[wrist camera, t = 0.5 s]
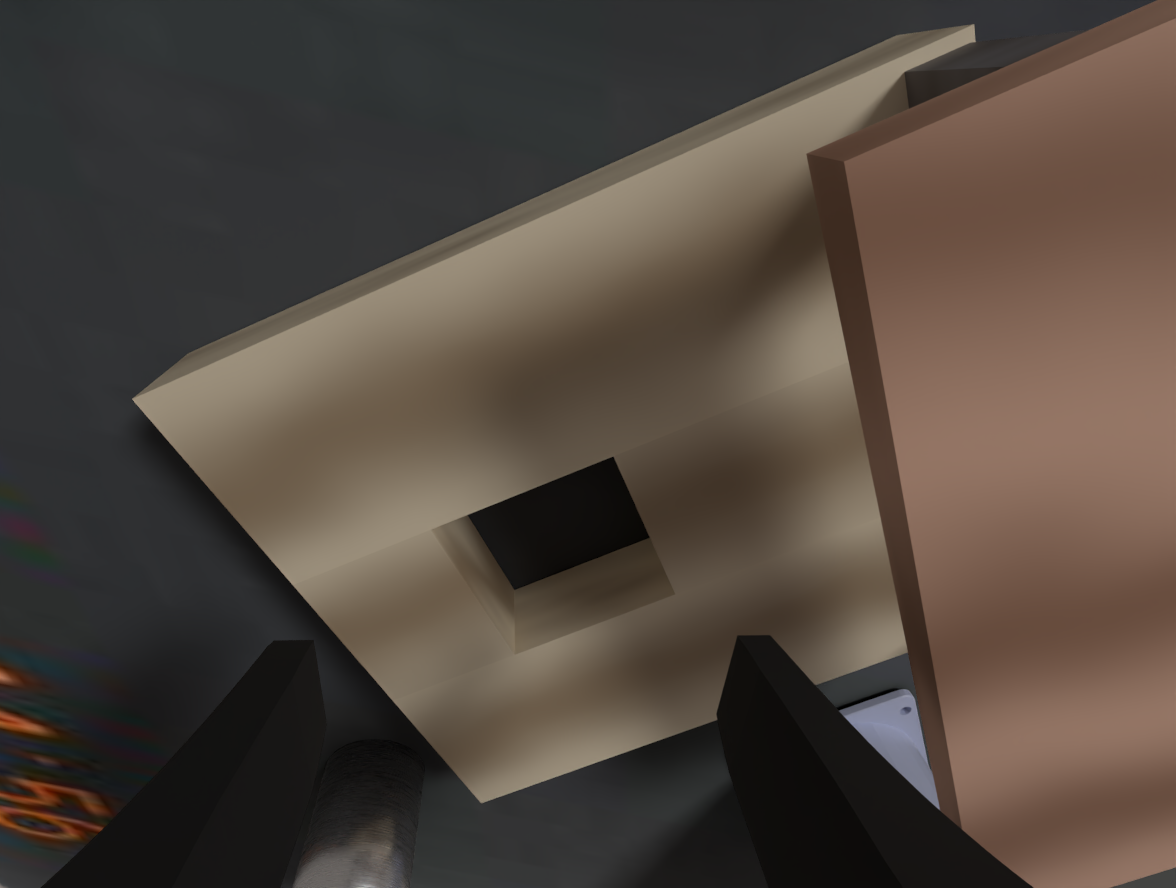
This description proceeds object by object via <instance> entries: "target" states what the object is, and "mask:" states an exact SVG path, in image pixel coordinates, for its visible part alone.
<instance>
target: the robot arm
mask: <svg viewBox="0 0 1176 888" xmlns="http://www.w3.org/2000/svg"><path fill="white" fill-rule="evenodd" d="M716 715H717V720H718V725H719V729H720V734H721V739H722V744H723V748H724V752H725V757H726V761H727V765H728V769H729V773H730V776H731V779H732V782H733V786H734V789H735V791H736V794H737V797H738V800H739V803H740V806H741V809H742V812H743V815H744V818H745V821H746V824H747V827H748V829H749V832H750V835H751V838H752V841H753V844H754V847H755V849H756V852H757V855H758V858H759V861H760V864H761V867H762V870H763V872H764V875H765V878H766V881H767V884H768V887H769V888H1034V887H1032V886H1031V885H1030V884H1028V883H1027V882H1026V881H1024V880H1023V879H1022V878H1021V877H1019V876H1018V875H1017V874H1015V873H1014V872H1013V871H1012V870H1010V869H1009V868H1008V867H1007V866H1005V865H1004V864H1003V863H1002V862H1000V861H999V860H998V859H997V858H995V857H994V856H993V855H992V854H990V853H989V852H988V851H987V850H986V849H984V848H983V847H982V846H981V845H980V844H979V843H977V842H976V841H975V840H974V839H973V838H971V837H970V836H969V835H968V834H967V833H966V832H964V831H963V830H962V829H961V828H960V827H959V826H957V825H956V824H955V823H954V822H953V821H952V820H950V819H949V818H948V817H947V816H946V815H945V814H943V813H942V812H941V811H940V807H939V802H938V797H937V792H936V787H935V783H934V778H933V773H932V771H931V770H930V768H929V766H928V761H927V756H926V751H925V746H924V742H923V737H922V732H921V727H920V722H919V718H918V713H917V708H916V703H915V699H914V697H913V696H912V694H911V693H910V691H908V690H906V689H900V690H896V691H893V692H890V693H887V694H885V695H882V696H879V697H876V698H873V699H870V700H867V701H864V702H862V703H859V704H856V705H853V706H850V707H847V708H844V709H842V710H839V711H838V709H837V708H836V707H835V706H834V705H833V704H832V703H831V702H830V701H829V700H828V699H827V698H826V696H825V695H824V694H823V693H822V692H821V691H820V690H819V689H818V688H817V687H816V685H815V684H814V683H813V682H812V681H811V680H810V679H809V678H808V677H807V675H806V674H805V673H804V672H803V671H802V670H801V669H800V668H799V667H798V665H797V664H796V663H795V662H794V661H793V660H792V659H791V658H790V657H789V655H788V654H787V653H786V652H785V651H784V650H783V649H782V648H781V647H780V645H779V644H778V643H777V642H776V641H775V640H774V639H773V638H772V637H771V636H770V635H737V639H736V642H735V646H734V650H733V654H732V657H731V661H730V665H729V668H728V672H727V676H726V680H725V683H724V687H723V691H722V694H721V698H720V702H719V706H718V709H717V713H716ZM326 726H327V723H326V717H325V710H324V704H323V697H322V691H321V684H320V678H319V671H318V665H317V659H316V652H315V646H314V640H288V641H273V642H272V643H271V644H270V645H269V646H268V647H267V648H266V649H265V650H264V652H263V653H262V654H261V655H260V656H259V658H258V659H257V660H256V661H255V663H254V664H253V665H252V666H251V667H250V669H249V670H248V671H247V672H246V674H245V675H244V676H243V677H242V678H241V680H240V681H239V682H238V683H237V684H236V686H235V687H234V688H233V689H232V690H231V691H230V693H229V694H228V695H227V696H226V697H225V699H224V700H223V701H222V702H221V703H220V704H219V706H218V707H217V708H216V709H215V710H214V711H213V713H212V714H211V715H210V716H209V717H208V718H207V719H206V720H205V722H204V723H203V724H202V725H201V726H200V727H199V728H198V729H197V731H196V732H195V733H194V734H193V735H192V736H191V737H190V738H189V739H188V741H187V742H186V743H185V744H184V745H183V746H182V747H181V748H180V749H179V751H178V752H177V753H176V754H175V755H174V756H173V757H172V758H171V759H170V761H169V762H168V763H167V764H166V765H165V766H164V767H163V768H162V769H161V770H160V771H159V772H158V773H157V774H156V775H155V776H154V777H153V778H152V780H151V781H150V782H149V783H148V784H147V785H146V786H145V787H144V788H143V789H142V790H141V791H140V792H139V793H138V794H137V795H136V796H135V797H134V798H133V799H132V800H131V801H130V802H129V803H128V804H127V805H126V806H125V807H124V808H123V809H122V810H121V811H120V812H119V813H118V814H117V816H116V817H115V818H114V819H113V820H112V821H111V822H110V823H109V824H108V825H107V826H106V827H105V828H104V829H103V830H101V831H100V832H99V833H98V834H97V835H96V836H95V837H94V838H93V839H92V840H91V841H90V842H89V843H88V844H87V845H86V846H85V847H84V848H83V849H82V850H81V851H80V852H79V853H78V854H77V855H76V856H74V857H73V858H72V859H71V860H70V861H69V862H68V863H67V864H66V865H65V866H64V867H63V868H62V869H61V870H59V871H58V872H57V873H56V874H55V875H54V876H53V877H52V878H51V879H50V880H49V881H47V882H46V883H45V884H44V885H43V886H42V887H41V888H280V887H281V884H282V881H283V878H284V875H285V872H286V869H287V866H288V863H289V860H290V857H291V854H292V851H293V848H294V845H295V842H296V839H297V836H298V833H299V830H300V827H301V824H302V821H303V818H304V815H305V812H306V809H307V806H308V803H309V800H310V797H311V793H312V790H313V786H314V782H315V777H316V773H317V769H318V764H319V760H320V755H321V750H322V745H323V741H324V736H325V731H326Z"/></svg>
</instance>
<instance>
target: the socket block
mask: <svg viewBox="0 0 1176 888" xmlns="http://www.w3.org/2000/svg"><path fill="white" fill-rule="evenodd" d="M132 400H133V401H134V402H135V403H136V404H137V406H138V407H139V408H140V409H141V410H142V411H143V412H144V414H145V415H146V416H147V417H148V418H149V419H150V421H151V422H152V423H153V424H154V425H155V426H156V427H157V429H158V430H159V431H160V432H161V433H162V434H163V436H164V437H165V438H166V439H167V440H168V441H169V443H170V444H171V445H172V446H173V447H174V448H175V449H176V451H177V452H178V453H179V454H180V455H181V456H182V458H183V459H184V460H185V461H186V462H187V463H188V464H189V466H190V467H191V468H192V469H193V470H194V471H195V473H196V474H197V475H198V476H199V477H200V478H201V480H202V481H203V482H204V483H205V484H206V485H207V486H208V488H209V489H210V490H211V491H212V492H213V493H214V495H215V496H216V497H217V498H218V499H219V500H220V502H221V503H222V504H223V505H224V506H225V507H226V508H227V510H228V511H229V512H230V513H231V514H232V515H233V517H234V518H235V519H236V520H237V521H238V522H239V523H240V525H241V526H242V527H243V528H244V529H245V530H246V532H247V533H248V534H249V535H250V536H251V537H252V539H253V540H254V541H255V542H256V543H257V544H258V545H259V547H260V548H261V549H262V550H263V551H264V552H265V554H266V555H267V556H268V557H269V558H270V559H271V560H272V562H273V563H274V564H275V565H276V566H277V567H278V569H279V570H280V571H281V572H282V573H283V574H284V576H285V577H286V578H287V579H288V580H289V581H290V582H291V584H292V585H293V586H294V587H295V588H296V589H297V591H298V592H299V593H300V594H301V595H302V596H303V598H304V599H305V600H306V601H307V602H308V603H309V604H310V606H311V607H312V608H313V609H314V610H315V611H316V613H317V614H318V615H319V616H320V617H321V618H322V619H323V621H324V622H325V623H326V624H327V625H328V626H329V628H330V629H331V630H332V631H333V632H334V633H335V635H336V636H337V637H338V638H339V639H340V640H341V641H342V643H343V644H344V645H345V646H346V647H347V648H348V650H349V651H350V652H351V653H352V654H353V655H354V656H355V658H356V659H357V660H358V661H359V662H360V663H361V665H362V666H363V667H364V668H365V669H366V670H367V672H368V673H369V674H370V675H371V676H372V677H373V678H374V680H375V681H376V682H377V683H378V684H379V685H380V687H381V688H382V689H383V690H384V691H385V692H386V694H387V695H388V696H389V697H390V698H391V699H392V700H393V702H394V703H395V704H396V705H397V706H398V707H399V709H400V710H401V711H402V712H403V713H404V714H405V715H406V717H407V718H408V719H409V720H410V721H411V722H412V724H413V725H414V726H415V727H416V728H417V729H418V731H419V732H420V733H421V734H422V735H423V736H424V737H425V739H426V740H427V741H428V742H429V743H430V744H431V746H432V747H433V748H434V749H435V750H436V751H437V752H438V754H439V755H440V756H441V757H442V758H443V759H444V761H445V762H446V763H447V764H448V765H449V766H450V768H451V769H452V770H453V771H454V772H455V773H456V774H457V776H458V777H459V778H460V779H461V780H462V781H463V783H464V784H465V785H466V786H467V787H468V788H469V790H470V791H471V792H472V793H473V794H474V795H475V796H476V798H477V799H478V800H479V801H480V802H481V803H483V802H486V801H489V800H492V799H495V798H498V797H500V796H503V795H506V794H509V793H512V792H514V791H517V790H520V789H523V788H526V787H529V786H531V785H534V784H537V783H540V782H543V781H546V780H548V779H551V778H554V777H557V776H560V775H563V774H565V773H568V772H571V771H574V770H577V769H580V768H582V767H585V766H588V765H591V764H594V763H596V762H599V761H602V760H605V759H608V758H611V757H613V756H616V755H619V754H622V753H625V752H628V751H630V750H633V749H636V748H639V747H642V746H645V745H647V744H650V743H653V742H656V741H659V740H662V739H664V738H667V737H670V736H673V735H676V734H678V733H681V732H684V731H687V730H690V729H693V728H695V727H698V726H701V725H704V724H707V723H710V722H712V721H715V720H717V715H716V713H717V709H718V706H719V702H720V698H721V694H722V691H723V687H724V683H725V680H726V676H727V672H728V668H729V665H730V661H731V657H732V654H733V650H734V646H735V642H736V639H737V635H770V636H771V637H772V638H773V639H774V640H775V641H776V642H777V643H778V644H779V645H780V647H781V648H782V649H783V650H784V651H785V652H786V653H787V654H788V655H789V657H790V658H791V659H792V660H793V661H794V662H795V663H796V664H797V665H798V667H799V668H800V669H801V670H802V671H803V672H804V673H805V674H806V675H807V677H808V678H809V679H810V680H811V681H812V682H813V683H814V684H815V685H817V684H820V683H823V682H826V681H828V680H831V679H834V678H837V677H840V676H843V675H845V674H848V673H851V672H854V671H857V670H859V669H862V668H865V667H868V666H871V665H874V664H876V663H879V662H882V661H885V660H888V659H891V658H893V657H896V656H899V655H902V654H905V653H908V655H909V660H910V665H911V670H912V675H913V680H914V685H915V689H916V694H917V699H918V704H919V709H920V714H921V719H922V724H923V729H924V734H925V738H926V743H927V748H928V753H929V758H930V763H931V768H932V773H933V778H934V783H935V787H936V792H937V797H938V802H939V807H940V811H941V812H942V813H943V814H945V815H946V816H947V817H948V818H949V819H950V820H952V821H953V822H954V823H955V824H956V825H957V826H959V827H960V828H961V829H962V830H963V831H964V832H966V833H967V834H968V835H969V836H970V837H971V838H973V839H974V840H975V841H976V842H977V843H979V844H980V845H981V846H982V847H983V848H984V849H986V850H987V851H988V852H989V853H990V854H992V855H993V856H994V857H995V858H997V859H998V860H999V861H1000V862H1002V863H1003V864H1004V865H1005V866H1007V867H1008V868H1009V869H1010V870H1012V871H1013V872H1014V873H1015V874H1017V875H1018V876H1019V877H1021V878H1022V879H1023V880H1024V881H1026V882H1027V883H1028V884H1030V885H1031V886H1032V887H1034V888H1110V887H1113V886H1117V885H1120V884H1123V883H1126V882H1130V881H1133V880H1136V879H1139V878H1143V877H1146V876H1149V875H1152V874H1156V873H1159V872H1162V871H1165V870H1169V869H1172V868H1175V867H1176V0H1157V1H1155V2H1153V3H1150V4H1148V5H1146V6H1143V7H1141V8H1139V9H1137V10H1134V11H1132V12H1130V13H1127V14H1125V15H1123V16H1120V17H1118V18H1116V19H1114V20H1111V21H1109V22H1107V23H1104V24H1102V25H1100V26H1098V27H1095V28H1093V29H1091V30H1084V31H1074V32H1065V33H1055V34H1046V35H1037V36H1027V37H1018V38H1009V39H999V40H990V41H981V42H975V30H974V24H972V25H965V26H959V27H952V28H945V29H938V30H931V31H924V32H917V33H910V34H904V35H897V36H894V37H892V38H890V39H888V40H885V41H883V42H881V43H879V44H876V45H874V46H872V47H870V48H868V49H865V50H863V51H861V52H859V53H856V54H854V55H852V56H850V57H848V58H845V59H843V60H841V61H839V62H836V63H834V64H832V65H830V66H827V67H825V68H823V69H821V70H819V71H816V72H814V73H812V74H810V75H807V76H805V77H803V78H801V79H798V80H796V81H794V82H792V83H790V84H787V85H785V86H783V87H781V88H778V89H776V90H774V91H772V92H770V93H767V94H765V95H763V96H761V97H758V98H756V99H754V100H752V101H749V102H747V103H745V104H743V105H741V106H738V107H736V108H734V109H732V110H729V111H727V112H725V113H723V114H721V115H718V116H716V117H714V118H712V119H709V120H707V121H705V122H703V123H700V124H698V125H696V126H694V127H692V128H689V129H687V130H685V131H683V132H680V133H678V134H676V135H674V136H671V137H669V138H667V139H665V140H663V141H660V142H658V143H656V144H654V145H651V146H649V147H647V148H645V149H643V150H640V151H638V152H636V153H634V154H631V155H629V156H627V157H625V158H622V159H620V160H618V161H616V162H614V163H611V164H609V165H607V166H605V167H602V168H600V169H598V170H596V171H593V172H591V173H589V174H587V175H585V176H582V177H580V178H578V179H576V180H573V181H571V182H569V183H567V184H565V185H562V186H560V187H558V188H556V189H553V190H551V191H549V192H547V193H544V194H542V195H540V196H538V197H536V198H533V199H531V200H529V201H527V202H524V203H522V204H520V205H518V206H516V207H513V208H511V209H509V210H507V211H504V212H502V213H500V214H498V215H495V216H493V217H491V218H489V219H487V220H484V221H482V222H480V223H478V224H475V225H473V226H471V227H469V228H466V229H464V230H462V231H460V232H458V233H455V234H453V235H451V236H449V237H446V238H444V239H442V240H440V241H438V242H435V243H433V244H431V245H429V246H426V247H424V248H422V249H420V250H417V251H415V252H413V253H411V254H409V255H406V256H404V257H402V258H400V259H397V260H395V261H393V262H391V263H388V264H386V265H384V266H382V267H380V268H377V269H375V270H373V271H371V272H368V273H366V274H364V275H362V276H360V277H357V278H355V279H353V280H351V281H348V282H346V283H344V284H342V285H339V286H337V287H335V288H333V289H331V290H328V291H326V292H324V293H322V294H319V295H317V296H315V297H313V298H311V299H308V300H306V301H304V302H302V303H299V304H297V305H295V306H293V307H290V308H288V309H286V310H284V311H282V312H279V313H277V314H275V315H273V316H270V317H268V318H266V319H264V320H261V321H259V322H257V323H255V324H253V325H250V326H248V327H246V328H244V329H241V330H239V331H237V332H235V333H233V334H230V335H228V336H226V337H224V338H221V339H219V340H217V341H215V342H212V343H210V344H208V345H206V346H204V347H201V348H199V349H197V350H195V351H192V352H190V353H188V354H187V355H186V356H185V357H183V358H182V359H181V360H180V361H178V362H177V363H176V364H175V365H173V366H172V367H171V368H170V369H169V370H167V371H166V372H165V373H164V374H162V375H161V376H160V377H159V378H157V379H156V380H155V381H154V382H153V383H151V384H150V385H149V386H148V387H146V388H145V389H144V390H143V391H141V392H140V393H139V394H138V395H136V396H135V397H134V398H133V399H132ZM610 457H614V459H615V461H616V463H617V465H618V468H619V470H620V472H621V474H622V477H623V479H624V481H625V483H626V486H627V488H628V490H629V492H630V494H631V497H632V499H633V501H634V503H635V506H636V508H637V510H638V512H639V514H640V517H641V519H642V521H643V523H644V526H645V528H646V530H647V532H648V535H649V537H650V538H648V539H645V540H643V541H640V542H637V543H635V544H632V545H630V546H627V547H624V548H622V549H619V550H617V551H614V552H612V553H609V554H606V555H604V556H601V557H599V558H596V559H593V560H591V561H588V562H586V563H583V564H580V565H578V566H575V567H573V568H570V569H568V570H565V571H562V572H560V573H557V574H555V575H552V576H549V577H547V578H544V579H542V580H539V581H536V582H534V583H531V584H529V585H526V586H524V587H521V588H518V589H516V590H514V589H513V587H512V585H511V584H510V582H509V581H508V579H507V577H506V576H505V574H504V573H503V571H502V569H501V568H500V566H499V565H498V563H497V561H496V560H495V558H494V557H493V555H492V553H491V552H490V550H489V549H488V547H487V545H486V544H485V542H484V541H483V539H482V537H481V536H480V534H479V533H478V531H477V529H476V528H475V526H474V525H473V523H472V521H471V520H470V518H469V517H468V515H469V514H471V513H474V512H476V511H479V510H481V509H484V508H486V507H489V506H491V505H493V504H496V503H498V502H501V501H503V500H506V499H508V498H511V497H513V496H516V495H518V494H521V493H523V492H526V491H528V490H531V489H533V488H536V487H538V486H541V485H543V484H546V483H548V482H551V481H553V480H556V479H558V478H561V477H563V476H566V475H568V474H571V473H573V472H576V471H578V470H581V469H583V468H586V467H588V466H591V465H593V464H596V463H598V462H601V461H603V460H606V459H608V458H610Z"/></svg>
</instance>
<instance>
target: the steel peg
mask: <svg viewBox="0 0 1176 888" xmlns="http://www.w3.org/2000/svg"><path fill="white" fill-rule="evenodd" d="M424 773H425V767H424V763H423V761H422V759H421V758H420V757H419V755H418V754H417V753H416V752H414V751H413V750H412V749H410V748H408V747H407V746H404V745H402V744H399V743H396V742H392V741H387V740H363V741H358V742H354V743H351V744H348V745H346V746H343V747H342V748H340V749H338V750H337V751H336V752H334V753H333V754H332V755H331V757H330V758H329V759H328V761H327V763H326V767H325V770H324V774H323V778H322V781H321V785H320V789H319V792H318V796H317V800H316V803H315V807H314V811H313V814H312V818H311V822H310V825H309V829H308V832H307V836H306V840H305V843H304V847H303V851H302V854H301V858H300V862H299V865H298V869H297V873H296V876H295V880H294V883H293V887H292V888H410V884H411V876H412V868H413V860H414V852H415V844H416V836H417V828H418V820H419V812H420V804H421V797H422V789H423V781H424Z"/></svg>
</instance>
